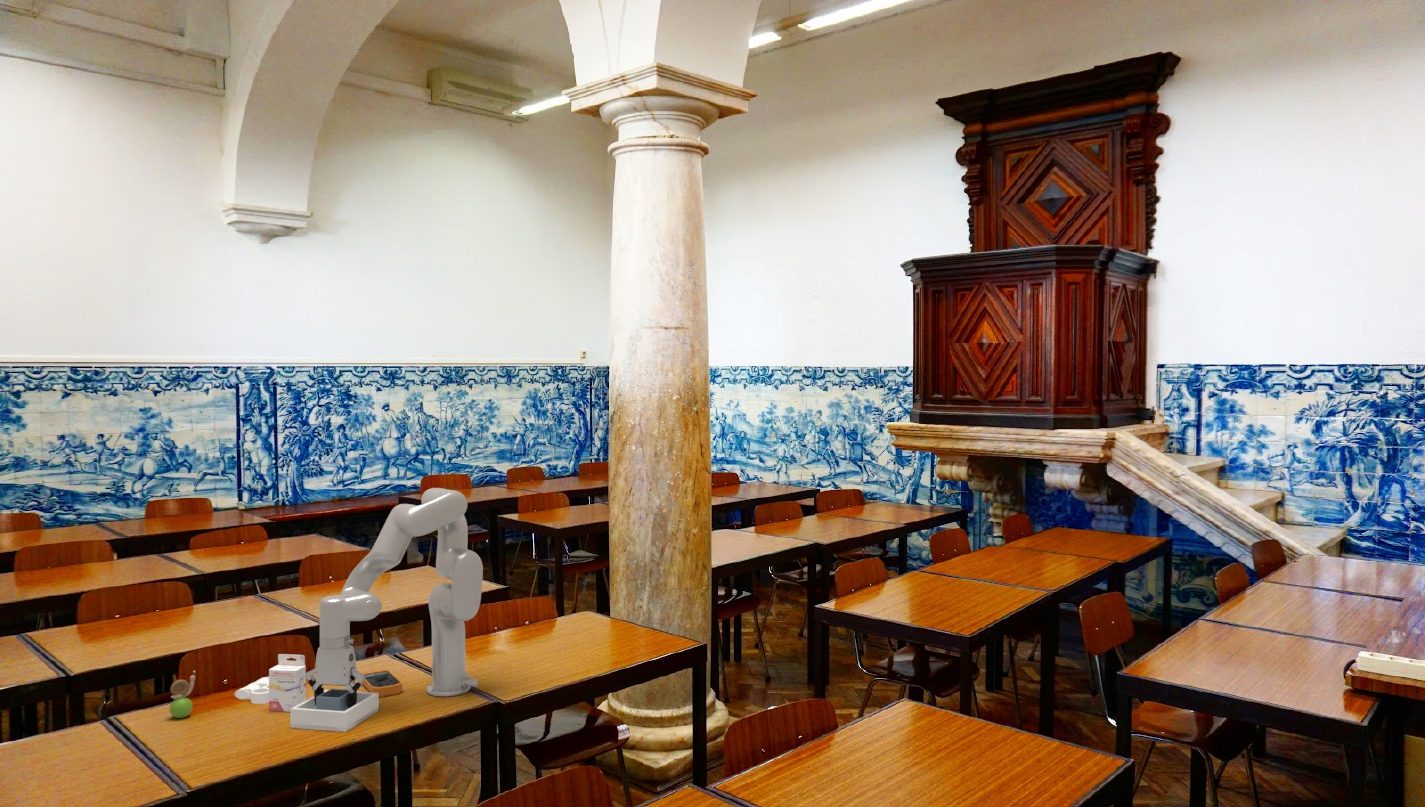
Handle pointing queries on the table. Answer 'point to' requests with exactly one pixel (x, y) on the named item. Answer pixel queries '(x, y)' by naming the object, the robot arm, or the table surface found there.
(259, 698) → the white brass knuckles
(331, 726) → the big crate
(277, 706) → the ink cartridge box
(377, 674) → the multimeter
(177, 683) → the snail figurine
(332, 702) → the small crate
